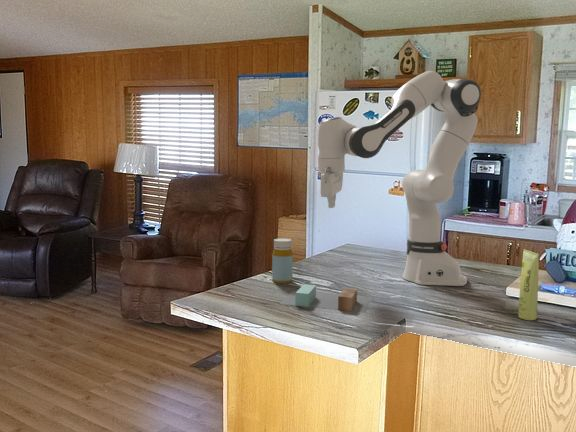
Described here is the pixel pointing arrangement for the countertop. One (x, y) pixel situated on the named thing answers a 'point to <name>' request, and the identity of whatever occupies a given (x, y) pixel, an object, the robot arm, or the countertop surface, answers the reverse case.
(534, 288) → the tube
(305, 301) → the teal block
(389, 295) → the countertop surface
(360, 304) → the mat
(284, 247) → the bottle
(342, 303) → the walnut block
